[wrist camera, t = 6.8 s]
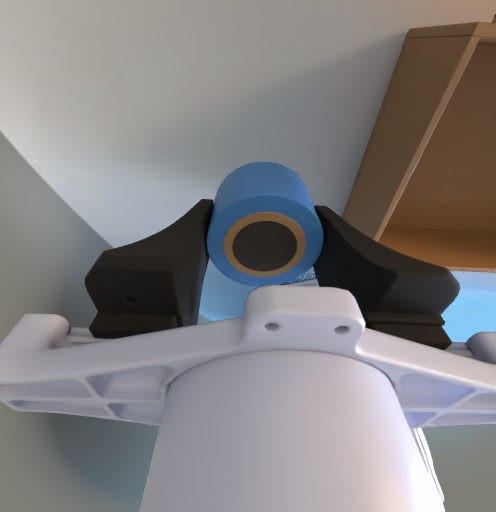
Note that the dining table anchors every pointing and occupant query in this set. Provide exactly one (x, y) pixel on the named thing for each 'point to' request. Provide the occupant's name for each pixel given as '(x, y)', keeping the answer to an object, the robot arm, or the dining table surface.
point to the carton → (435, 152)
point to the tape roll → (263, 226)
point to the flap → (494, 20)
